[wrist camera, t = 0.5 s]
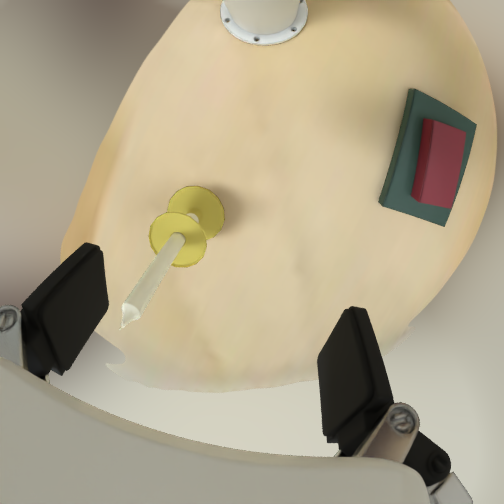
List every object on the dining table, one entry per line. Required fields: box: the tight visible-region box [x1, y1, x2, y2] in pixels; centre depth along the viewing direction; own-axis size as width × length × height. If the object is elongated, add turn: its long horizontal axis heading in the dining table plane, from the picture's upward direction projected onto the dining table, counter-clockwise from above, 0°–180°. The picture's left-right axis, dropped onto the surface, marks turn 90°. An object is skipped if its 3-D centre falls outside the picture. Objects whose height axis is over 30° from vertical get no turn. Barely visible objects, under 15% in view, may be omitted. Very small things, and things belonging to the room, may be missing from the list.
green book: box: [378, 89, 477, 227], centre depth 35 cm, size 20×14×2 cm
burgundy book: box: [411, 118, 466, 209], centre depth 33 cm, size 13×7×3 cm, turn 178°
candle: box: [119, 186, 225, 330], centre depth 33 cm, size 10×10×27 cm
